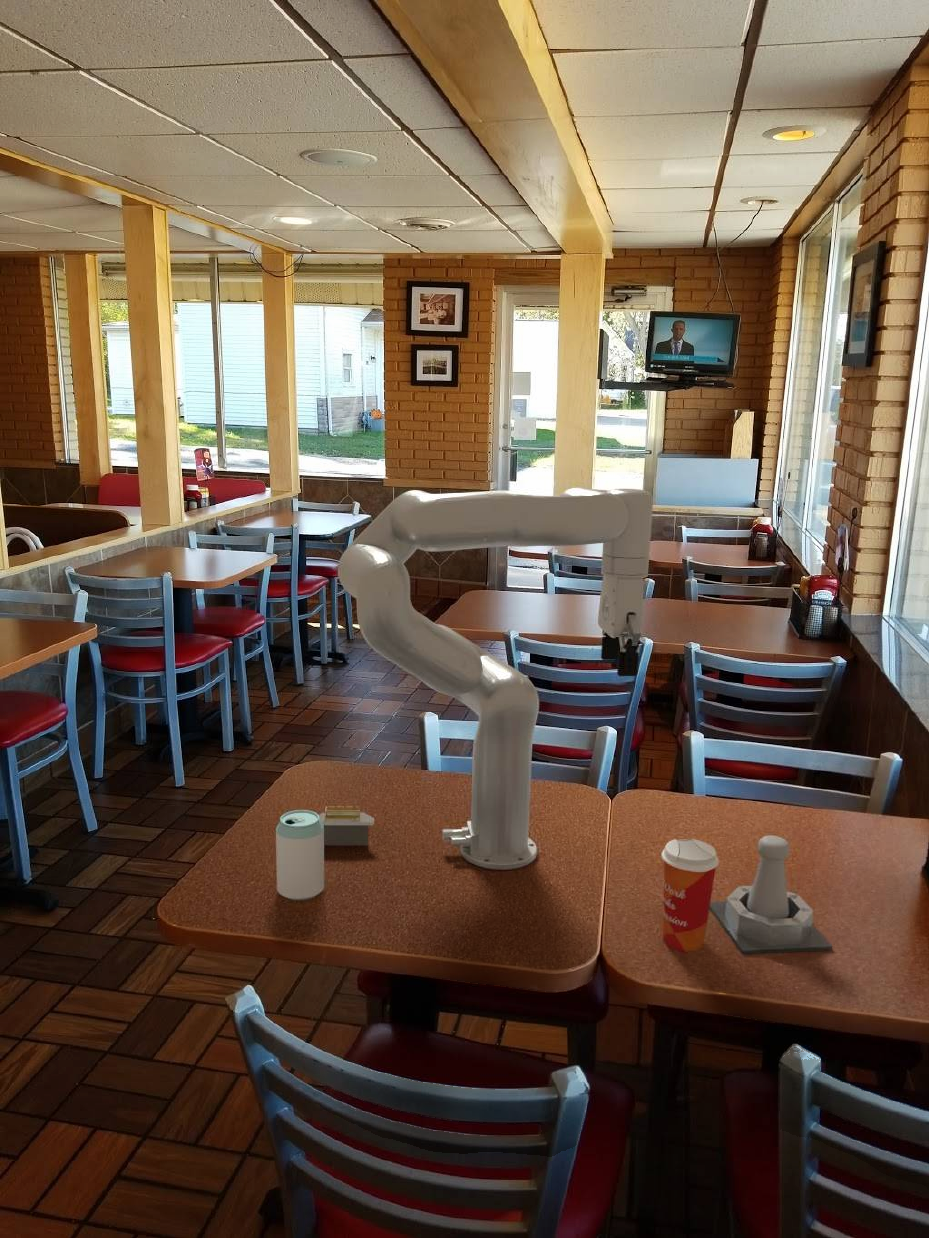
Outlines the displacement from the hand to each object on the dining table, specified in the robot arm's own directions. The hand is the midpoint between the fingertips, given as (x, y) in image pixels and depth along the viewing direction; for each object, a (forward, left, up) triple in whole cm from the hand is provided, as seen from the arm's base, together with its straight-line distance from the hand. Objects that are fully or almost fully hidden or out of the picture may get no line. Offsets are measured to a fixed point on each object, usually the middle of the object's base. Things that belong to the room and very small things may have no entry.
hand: (618, 667), depth 160 cm
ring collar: (+15, -31, -30) cm, 46 cm away
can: (-52, -15, -31) cm, 62 cm away
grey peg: (+15, -31, -30) cm, 45 cm away
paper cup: (+2, -33, -31) cm, 45 cm away
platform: (-45, +1, -31) cm, 55 cm away
